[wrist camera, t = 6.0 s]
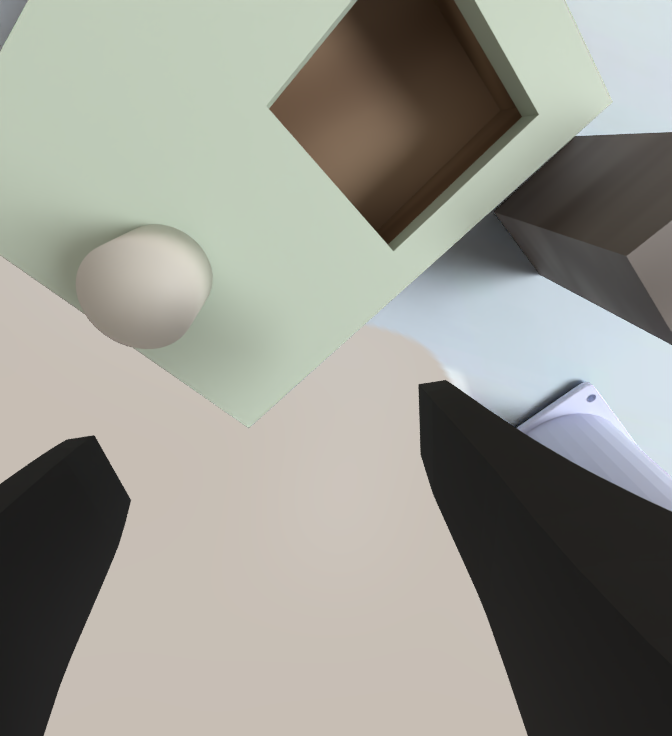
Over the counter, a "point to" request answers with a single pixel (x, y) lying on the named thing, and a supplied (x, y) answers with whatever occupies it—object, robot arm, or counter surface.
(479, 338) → the counter surface
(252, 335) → the lid
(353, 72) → the brown box
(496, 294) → the counter surface
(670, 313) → the block
